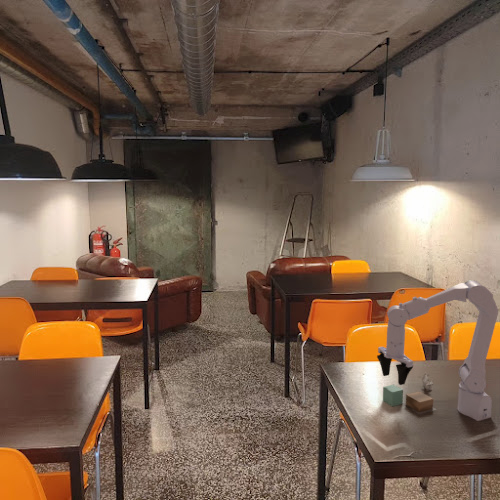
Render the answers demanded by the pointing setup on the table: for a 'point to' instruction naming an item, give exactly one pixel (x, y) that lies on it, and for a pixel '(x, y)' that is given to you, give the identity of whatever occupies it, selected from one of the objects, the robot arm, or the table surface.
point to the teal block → (393, 395)
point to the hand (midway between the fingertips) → (393, 379)
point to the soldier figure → (426, 382)
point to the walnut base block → (419, 401)
